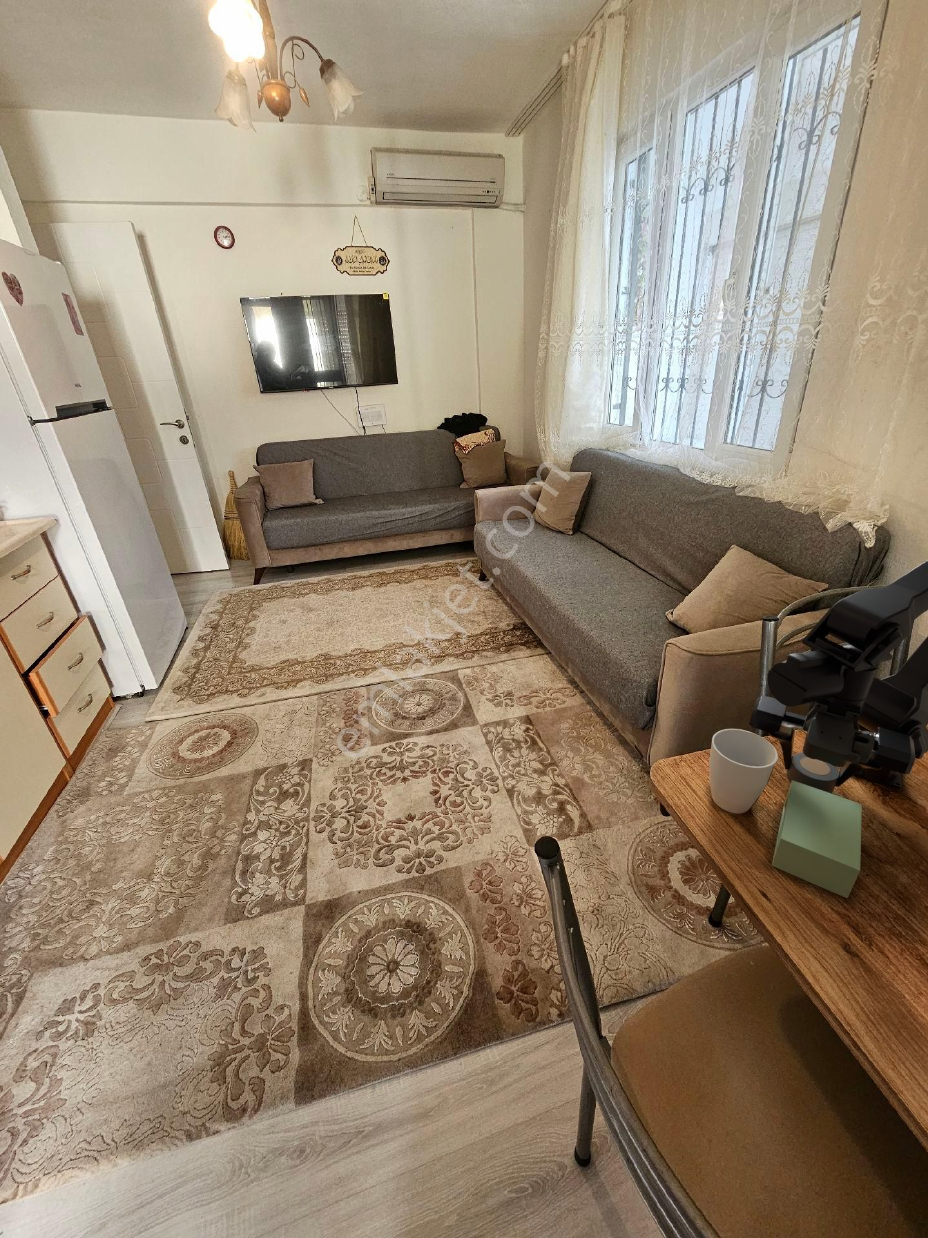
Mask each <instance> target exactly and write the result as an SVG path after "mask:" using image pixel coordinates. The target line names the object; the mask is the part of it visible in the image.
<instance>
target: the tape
mask: <svg viewBox="0 0 928 1238" xmlns="http://www.w3.org/2000/svg"><path fill="white" fill-rule="evenodd" d="M839 771H840V769H839V767H836V766H832V765H831V764H829V763H826V762H823V761H820V760H817V759H811V758H808V757H806V756H805V755H804V753H803V752H797V753H795V754H792V758H791V763H790V767H789V769H788V770H786V778H787V780H788V782H789V783H790V784H791V782H792V780H793V781H796V782H799V783H802V784H805V785H807V786H810V787H813V788H816V789H819V790H822V791H825V792H828V793H831V794H833V792H834V791H835V788H836V786H835V785H836V783H837V780H838V778H839Z"/></svg>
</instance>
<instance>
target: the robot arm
mask: <svg viewBox="0 0 928 1238" xmlns="http://www.w3.org/2000/svg"><path fill="white" fill-rule="evenodd" d="M927 611H928V559H927V560H925V561H923V562H922V563H921V564H919V565H918V566H916V567H914V568H913V569H911V570H909V571H908V572H906V573H905V574H903V575H902V576H900V577H898V578H897V579H895V580H894V581H892V582H891V583H889V584H887V585H885V586H879V587H873V588H865V589H861V590H858V591H857V592H854V593H852V594H851V595H848V596H846V597H843V598H842V599H840V600H838V601H837V602H836V603H834V604H833V605H832V606H831V607H830V608H829V609H828V610H827V612H825V613H824V615H823V616H822V617H821V618H820V619H819V621H817V623H816V624H815V625H814V626H813V627H812V628H811V629H810V631H809V632H808V633H807V634H806V636H804V638H803V639H802V640H801V644H803V645H805V646H806V647H808V648H810V650H809V651H806V652H799V653H798V652H794V653H790V654H788V655H787V658H786V661H785V660H784V661H780V662H778V663H775V664H773V666H772V667H771V668H770V669H769V670H768V672H767V677H766V678H767V679H766V680H767V686H768V689H769V691H770V693H771V694H772V697H771V696H768V695H764V694H761V695H759V696H757V697H756V699H755V702H754V706H753V708H752V710H751V715H750V718H749V722H748V725H749V726H750V727H751V728H753V729H756V730H759V731H762V732H765V733H768V735H769V736H770V737H771V738H774V739H776V740H777V741H778V742H779V746H780V747H781V753H782V758H783V763H784V764H783V765H784V769H785V770H786V771H788V769H789V767H790V763H791V758H792V756H793V751H794V742H795V734H796V730H799V731H803V732H806V734H805V739H804V742H803V747H802V753H804V755H805V756H806V757H808V758H811V759H817V760H820V761H823V762H826V763H829V764H831V765H832V766H836V767H837V768H840V769H839V778H838V780H837V783H836V785H835V788H836V787H837V788H839V787H841V786H842V785H843V784H844V783H846V782H848V780H849V779H851V778H852V777H854V776H857V777H860V778H864V779H867V780H870V781H872V782H875V783H878V784H883V785H884V786H885V785H886V786H888V787H891V788H895V789H899V790H901V789H902V787H903V780H902V779H903V778H902V775H907V774H908V775H910V773H911V772H912V770H913V767H914V765H915V761H916V759H917V760H921V759H923V757H924V755H925V753H927V752H928V728H927V726H928V635H927V636H926V638H924V640H922V642H921V643H920V644H919V646H918V647H917V648H916V649H915V650H914V651H913V652H912V654H911V655H910V656H909V657H908V659H907V660H906V661H905V662H904V664H903V665H901V667H900V668H899V669H898V670H897V671H896V673H894V674H892V675H889V676H886V677H884V678H881V679H880V677H877V676H876V675H877V672H878V669H879V667H880V664H881V663H883V662H888V661H892V660H893V658H894V657H893V655H892V654H891V652H892V651H894V650H895V649H896V648H897V647H898V646H900V645H901V644H902V643H903V641H904V640H906V639H907V638H908V637H910V636H911V635H912V632H913V627H914V624H915V621H916V619H918V618H919V617H920V616H921V615H923V614H924V613H926V612H927ZM829 635H830V636H831V637H833V638H835V639H836V640H838V641H841V642H843V643H846V645H841V644H839V643H837V642H835V641H833V640H831V639H829V638H827V636H829ZM806 704H809V705H808V709H807V712H806V714H805V715H801V714H798V713H794V712H791V711H787V710H786V709H787V707H796V706H801V705H806Z"/></svg>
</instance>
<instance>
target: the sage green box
mask: <svg viewBox="0 0 928 1238" xmlns="http://www.w3.org/2000/svg"><path fill="white" fill-rule="evenodd" d="M862 815H863V804H862V803H860V802H857V801H853V800H850V799H848V798H845V797H842V796H840V795H836V794H834V793H828V792H825V791H822V790H819V789H816V788H813V787H810V786H807V785H805V784H802V783H799V782H796V781H793V780H792V782H791V783H790V785H789V788H788V791H787V794H786V797H785V800H784V803H783V807H782V812H781V817H780V821H779V827H778V832H777V837H776V842H775V847H774V852H773V857H772V862H771V866H772V867H773V868H775V869H778V870H780V871H783V872H785V873H787V874H789V875H792V876H794V877H797V878H799V879H801V880H804V881H806V882H808V883H811V884H813V885H815V886H818V887H820V888H823V889H824V890H826V891H829V892H832V893H834V894H835V895H838V896H840V897H843V898H845V899H848V898H849V896H850V894H851V892H852V890H853V888H854V886H855V883H856V881H857V879H858V877H859V875H860V872H861V856H862V855H861V854H862V853H861V851H862V817H863V816H862Z"/></svg>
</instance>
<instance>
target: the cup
mask: <svg viewBox="0 0 928 1238" xmlns="http://www.w3.org/2000/svg"><path fill="white" fill-rule="evenodd" d="M710 745H711V746H710V754H709V760H708V761H709V762H708V769H709V770H708V776H709V777H708V779H709V780H708V781H709V782H708V783H709V789H710V792H711V797H712V800H713V802H714V803H715V804H716V805H717V807H719V808H720V809H722V810H723V811H726V812H727V813H728V812H729V813H732V814H744V813H746V812H748V811H749V810H750V809H751V807H753V806H754V805H755V804H756V802H757V801H758V800H759V798H760V797H761V795H762V793H763V792H764V790H765V788H766V787H767V785H768V783H769V782H770V778H771V776H772V774H773V771H774V768H775V766H776V763H777V761H778V757H779V755H778V751H777V749H776V747H775V746H774V745H773V743H771V742H770V741H769V740H768V739H766V738H765V737H763V736H761V735H759V734H757V733H754V732H752V731H749V730H746V729H741V728H725V729H721V730H719V731H717V732H715V733H714V734H713V736H712V738H711V744H710Z"/></svg>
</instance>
